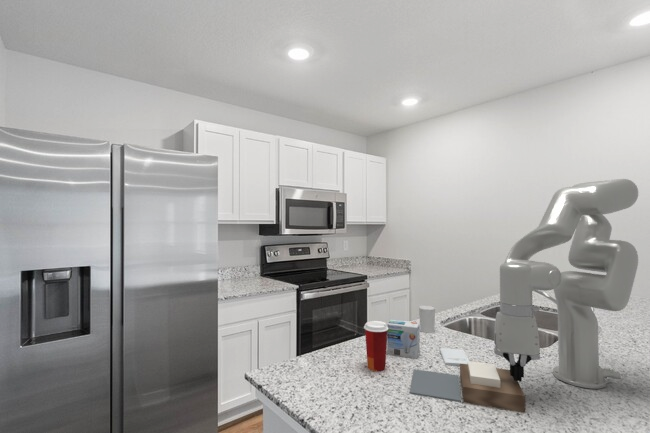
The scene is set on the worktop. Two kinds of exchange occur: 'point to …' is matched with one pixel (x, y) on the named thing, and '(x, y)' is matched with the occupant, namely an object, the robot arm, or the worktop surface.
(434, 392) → the mat
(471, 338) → the worktop surface
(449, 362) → the external hard drive
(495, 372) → the cream rectangular block
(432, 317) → the grey tapered cup
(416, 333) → the light bulb box
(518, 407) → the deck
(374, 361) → the paper cup
